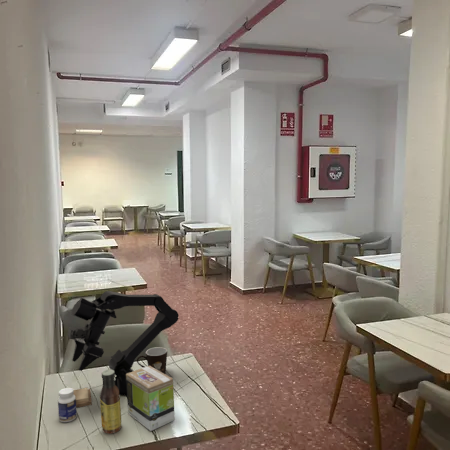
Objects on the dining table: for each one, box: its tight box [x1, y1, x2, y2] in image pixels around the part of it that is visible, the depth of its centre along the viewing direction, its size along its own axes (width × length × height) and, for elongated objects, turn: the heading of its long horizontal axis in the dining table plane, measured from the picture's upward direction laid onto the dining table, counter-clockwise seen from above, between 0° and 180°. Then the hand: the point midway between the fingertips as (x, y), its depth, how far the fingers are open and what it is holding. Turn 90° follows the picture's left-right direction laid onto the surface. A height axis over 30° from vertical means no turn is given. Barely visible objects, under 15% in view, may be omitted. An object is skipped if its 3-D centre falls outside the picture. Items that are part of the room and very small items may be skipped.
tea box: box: [126, 365, 176, 432], centre depth 147 cm, size 15×10×15 cm
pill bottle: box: [57, 387, 78, 423], centre depth 148 cm, size 6×6×10 cm
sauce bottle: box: [99, 368, 122, 435], centre depth 140 cm, size 6×6×20 cm
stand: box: [73, 387, 93, 409], centre depth 160 cm, size 10×10×2 cm
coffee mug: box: [136, 346, 168, 375], centre depth 179 cm, size 12×9×10 cm
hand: (76, 365), depth 155 cm, fingers open, 9 cm apart
